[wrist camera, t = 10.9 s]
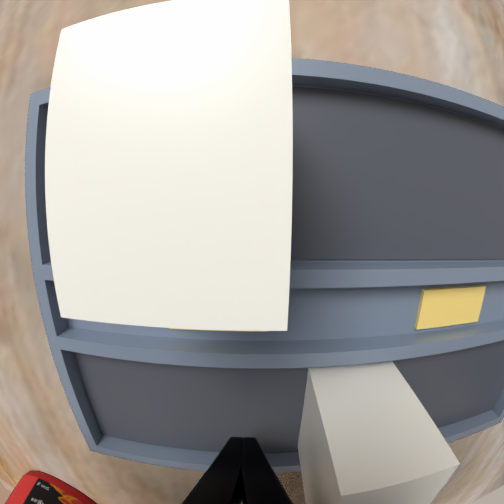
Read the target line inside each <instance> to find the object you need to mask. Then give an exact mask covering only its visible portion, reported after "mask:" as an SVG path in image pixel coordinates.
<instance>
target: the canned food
mask: <svg viewBox="0 0 504 504" xmlns="http://www.w3.org/2000/svg"><path fill="white" fill-rule="evenodd" d="M5 504H96V503H95V502H93V501H92V500H91V499H90V498H88V497H87V496H86V495H84V494H83V493H81V492H80V491H78V490H77V489H75V488H73V487H72V486H70V485H68V484H67V483H65V482H63V481H61V480H59V479H57V478H55V477H53V476H51V475H48V474H46V473H43V472H40V471H29V472H28V473H26V474H25V475H24V476H22V478H21V479H20V481H19V482H18V484H17V486H16V487H15V489H14V490H13V492H12V493H11V495H10V497H9V498H8V500H7V501H6V503H5Z"/></svg>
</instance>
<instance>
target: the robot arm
mask: <svg viewBox="0 0 504 504" xmlns="http://www.w3.org/2000/svg"><path fill="white" fill-rule="evenodd" d="M241 503H243V504H293V503H292V501H291V500H290V498H289V496H288V495H287V493H286V491H285V490H284V488H283V486H282V484H281V483H280V481H279V479H278V477H277V476H276V474H275V472H274V470H273V468H272V467H271V465H270V463H269V461H268V459H267V457H266V456H265V454H264V452H263V450H262V448H261V446H260V444H259V443H258V441H257V439H256V438H255V437H230V438H229V440H228V441H227V442H226V444H225V445H224V447H223V448H222V450H221V451H220V453H219V454H218V455H217V457H216V458H215V460H214V461H213V463H212V464H211V465H210V467H209V468H208V469H207V471H206V472H205V474H204V475H203V476H202V478H201V479H200V480H199V482H198V483H197V484H196V486H195V487H194V488H193V490H192V491H191V492H190V494H189V495H188V496H187V498H186V499H185V500H184V502H183V503H182V504H241Z"/></svg>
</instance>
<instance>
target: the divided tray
mask: <svg viewBox="0 0 504 504" xmlns="http://www.w3.org/2000/svg"><path fill="white" fill-rule="evenodd" d="M291 61H292V110H293V178H292V230H291V261H290V285H289V306H288V325H287V331H232V330H200V329H179V328H162V327H148V326H135V325H124V324H113V323H104V322H94V321H86V320H77V319H70V318H62V317H61V315H60V310H59V305H58V300H57V295H56V290H55V284H54V278H53V271H52V265H51V257H50V249H49V240H48V230H47V217H46V199H45V145H46V127H47V115H48V105H49V96H50V89H51V87H50V88H47V89H44V90H41V91H38V92H35V93H32V94H30V101H29V109H28V119H27V131H26V149H25V197H26V216H27V228H28V238H29V247H30V255H31V262H32V269H33V275H34V281H35V286H36V292H37V297H38V301H39V306H40V311H41V315H42V319H43V323H44V327H45V331H46V335H47V338H48V342H49V346H50V349H51V352H52V356H53V359H54V362H55V365H56V368H57V371H58V374H59V377H60V380H61V383H62V385H63V388H64V391H65V394H66V396H67V399H68V401H69V404H70V406H71V409H72V411H73V414H74V416H75V418H76V421H77V423H78V425H79V427H80V430H81V432H82V434H83V436H84V438H85V440H86V442H87V444H88V446H89V448H90V450H91V451H94V452H98V453H102V454H106V455H110V456H114V457H118V458H122V459H127V460H131V461H136V462H141V463H147V464H152V465H158V466H165V467H171V468H179V469H187V470H197V471H207V469H208V468H209V467H210V465H211V464H212V463H213V461H214V460H215V458H216V457H217V455H218V454H219V453H220V451H221V450H222V448H223V447H224V445H225V444H226V442H227V441H228V440H229V438H230V437H255V438H256V439H257V441H258V443H259V444H260V446H261V448H262V450H263V452H264V454H265V456H266V457H267V459H268V461H269V463H270V465H271V467H272V468H273V470H274V472H275V473H293V472H301V468H300V461H299V454H298V447H297V446H298V439H299V433H300V427H301V420H302V413H303V406H304V398H305V391H306V383H307V375H308V368H317V367H335V366H348V365H360V364H371V363H380V362H389V361H393V363H394V364H395V366H396V367H397V369H398V370H399V371H400V373H401V374H402V376H403V377H404V379H405V380H406V382H407V383H408V384H409V386H410V387H411V389H412V390H413V392H414V393H415V395H416V396H417V398H418V399H419V401H420V402H421V404H422V405H423V407H424V408H425V410H426V411H427V413H428V414H429V416H430V417H431V419H432V420H433V422H434V423H435V425H436V426H437V428H438V429H439V431H440V433H441V434H442V436H443V437H444V439H445V440H446V442H447V443H450V442H453V441H455V440H458V439H461V438H464V437H466V436H469V435H472V434H474V433H477V432H479V431H482V430H484V429H486V428H489V427H491V426H493V425H495V424H498V423H500V422H501V421H502V419H503V417H504V107H503V106H501V105H498V104H496V103H493V102H491V101H489V100H486V99H483V98H481V97H478V96H475V95H473V94H470V93H467V92H464V91H461V90H458V89H455V88H452V87H449V86H446V85H443V84H439V83H436V82H432V81H429V80H425V79H421V78H418V77H414V76H410V75H405V74H401V73H397V72H392V71H387V70H382V69H377V68H372V67H366V66H360V65H353V64H347V63H339V62H331V61H322V60H311V59H299V58H291Z"/></svg>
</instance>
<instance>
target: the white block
mask: <svg viewBox="0 0 504 504" xmlns="http://www.w3.org/2000/svg"><path fill="white" fill-rule="evenodd" d="M297 447H298V454H299V461H300V468H301V475H302V482H303V489H304V496H305V504H430V503H431V502H432V501H433V499H434V498H435V497H436V496H437V494H438V493H439V492H440V491H441V489H442V488H443V487H444V485H445V484H446V483H447V481H448V480H449V479H450V477H451V476H452V474H453V473H454V472H455V470H456V469H457V467H458V466H459V464H460V463H459V461H458V460H457V458H456V456H455V455H454V453H453V452H452V450H451V448H450V447H449V445H448V444H447V442H446V440H445V439H444V437H443V436H442V434H441V433H440V431H439V429H438V428H437V426H436V425H435V423H434V422H433V420H432V419H431V417H430V416H429V414H428V413H427V411H426V410H425V408H424V407H423V405H422V404H421V402H420V401H419V399H418V398H417V396H416V395H415V393H414V392H413V390H412V389H411V387H410V386H409V384H408V383H407V382H406V380H405V379H404V377H403V376H402V374H401V373H400V371H399V370H398V369H397V367H396V366H395V364H394V363H393V361H389V362H380V363H371V364H360V365H348V366H335V367H317V368H308V375H307V383H306V391H305V398H304V406H303V413H302V420H301V427H300V433H299V439H298V446H297Z"/></svg>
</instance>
